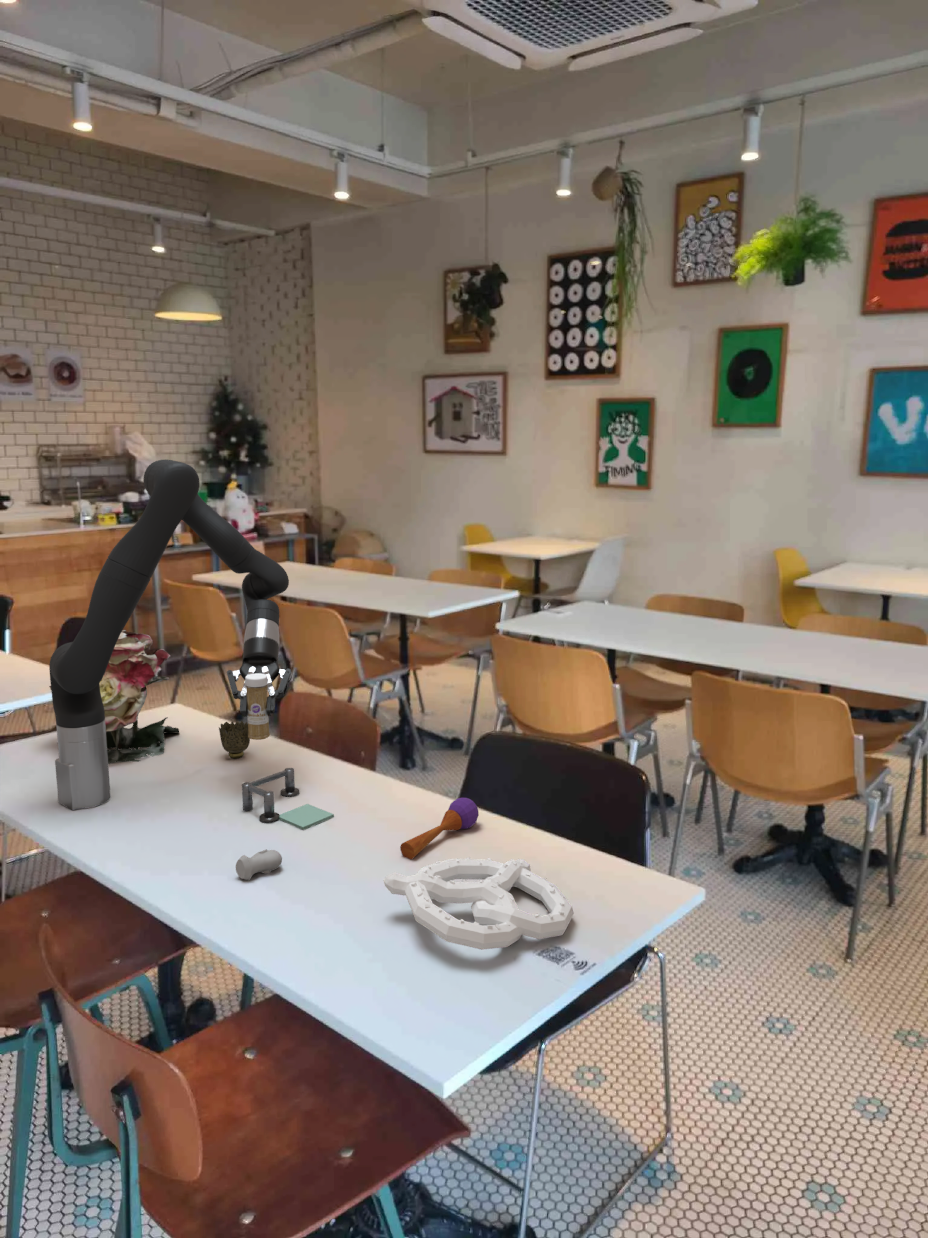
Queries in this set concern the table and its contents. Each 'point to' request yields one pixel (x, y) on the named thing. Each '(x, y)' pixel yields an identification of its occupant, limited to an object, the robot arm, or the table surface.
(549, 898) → the pretzel
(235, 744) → the dark brown scalloped piece
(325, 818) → the pad
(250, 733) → the sprinkles bottle
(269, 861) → the grey figurine
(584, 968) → the table surface
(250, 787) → the grey jointed rod frame
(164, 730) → the rose bouquet
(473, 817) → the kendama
